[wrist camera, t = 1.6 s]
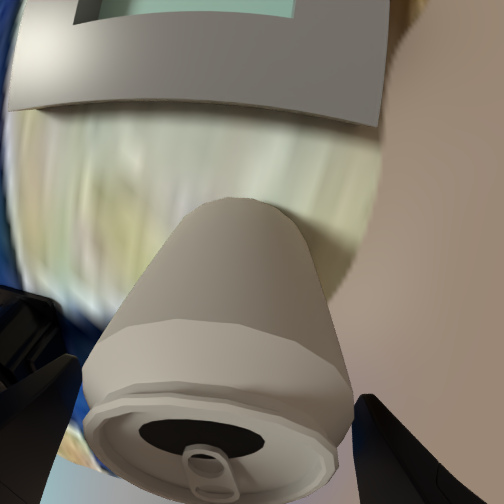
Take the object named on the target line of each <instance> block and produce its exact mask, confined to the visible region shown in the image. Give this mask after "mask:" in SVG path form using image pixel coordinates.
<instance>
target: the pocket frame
mask: <svg viewBox="0 0 504 504" xmlns="http://www.w3.org/2000/svg"><path fill="white" fill-rule="evenodd" d="M389 8H390V0H27V2H26V5H25V9H24V13H23V17H22V21H21V25H20V29H19V34H18V38H17V43H16V49H15V54H14V60H13V67H12V74H11V82H10V92H9V103H8V112H10V111H21V110H33V109H41V108H49V107H57V106H66V105H76V104H88V103H104V102H128V101H171V102H197V103H213V104H226V105H237V106H246V107H255V108H263V109H271V110H278V111H285V112H291V113H298V114H303V115H309V116H315V117H320V118H325V119H330V120H335V121H340V122H344V123H349V124H353V125H358V126H367V127H377V126H378V120H379V113H380V106H381V99H382V91H383V83H384V74H385V64H386V54H387V42H388V28H389Z"/></svg>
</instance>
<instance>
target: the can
mask: <svg viewBox="0 0 504 504" xmlns="http://www.w3.org/2000/svg"><path fill="white" fill-rule="evenodd" d="M82 377H83V393H84V396H85V398H86V401H87V403H88V406H89V408H90V412H89V413H88V414H87V416H86V417H85V418H84V420H83V428H84V436H85V440H86V442H87V443H88V445H89V446H90V448H91V449H92V451H93V452H94V454H95V455H96V456H97V458H98V459H99V460H100V461H101V462H102V463H103V464H104V465H106V466H107V467H108V468H109V469H110V470H111V471H113V472H114V473H115V474H116V475H118V476H119V477H121V478H123V479H124V480H126V481H128V482H130V483H131V484H133V485H135V486H137V487H139V488H141V489H143V490H145V491H148V492H150V493H153V494H155V495H158V496H161V497H163V498H166V499H169V500H173V501H177V502H181V503H185V504H286V503H289V502H292V501H295V500H298V499H301V498H304V497H306V496H308V495H310V494H311V493H313V492H315V491H316V490H318V489H319V488H321V487H323V486H324V485H326V484H327V483H328V482H329V481H330V479H331V478H332V476H333V475H334V473H335V472H336V470H337V469H338V467H339V462H338V454H337V447H338V445H339V444H340V443H341V442H342V440H343V439H344V437H345V435H346V433H347V432H348V430H349V428H350V426H351V424H352V422H353V420H354V400H353V391H352V387H351V384H350V380H349V376H348V373H347V369H346V366H345V363H344V359H343V355H342V352H341V349H340V345H339V342H338V338H337V335H336V332H335V328H334V325H333V322H332V319H331V315H330V312H329V309H328V306H327V303H326V299H325V296H324V293H323V290H322V287H321V284H320V281H319V278H318V275H317V272H316V269H315V266H314V263H313V260H312V257H311V254H310V251H309V248H308V245H307V243H306V241H305V239H304V238H303V236H302V234H301V233H300V231H299V229H298V228H297V226H296V224H295V223H294V222H293V221H292V220H290V219H289V218H288V217H287V216H286V215H284V214H283V213H282V212H281V211H279V210H278V209H277V208H275V207H273V206H270V205H268V204H265V203H263V202H260V201H257V200H255V199H250V198H232V197H227V198H223V199H219V200H215V201H212V202H208V203H204V204H202V205H201V206H199V207H198V208H197V209H195V210H194V211H192V212H191V213H189V214H188V215H186V216H185V217H184V218H183V219H182V221H181V222H180V223H179V225H178V226H177V227H176V229H175V230H174V231H173V233H172V234H171V235H170V237H169V238H168V239H167V241H166V242H165V243H164V245H163V246H162V247H161V249H160V250H159V251H158V253H157V254H156V256H155V257H154V258H153V260H152V261H151V263H150V264H149V265H148V267H147V268H146V270H145V271H144V272H143V274H142V275H141V277H140V278H139V280H138V281H137V282H136V284H135V285H134V287H133V288H132V290H131V291H130V293H129V294H128V296H127V297H126V299H125V300H124V302H123V303H122V304H121V306H120V307H119V309H118V311H117V312H116V314H115V315H114V317H113V318H112V320H111V321H110V323H109V324H108V326H107V327H106V329H105V330H104V332H103V334H102V335H101V337H100V338H99V340H98V342H97V343H96V345H95V346H94V348H93V350H92V352H91V353H90V355H89V357H88V358H87V360H86V362H85V364H84V365H83V367H82Z"/></svg>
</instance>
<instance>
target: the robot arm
mask: <svg viewBox="0 0 504 504" xmlns="http://www.w3.org/2000/svg"><path fill="white" fill-rule="evenodd" d="M82 379H83V377H82V370H81V367H80V364H79V361H78V358H77V357H76V356H73V355H70V354H67V351H66V348H65V345H64V341H63V338H62V335H61V331H60V328H59V324H58V320H57V316H56V313H55V309H54V305H53V303H52V301H51V300H50V299H48V298H44V297H40V296H37V295H33V294H29V293H26V292H22V291H19V290H15V289H12V288H9V287H5V286H2V285H0V504H40V501H41V498H42V495H43V491H44V488H45V485H46V482H47V479H48V477H49V474H50V471H51V468H52V465H53V462H54V460H55V457H56V454H57V452H58V449H59V446H60V444H61V441H62V439H63V436H64V434H65V431H66V429H67V426H68V424H69V421H70V419H71V416H72V413H73V409H74V406H75V402H76V399H77V396H78V392H79V389H80V386H81V383H82ZM352 442H353V457H354V464H355V471H356V477H357V484H358V491H359V497H360V504H487V503H486V502H484V501H483V500H482V499H481V498H479V497H478V496H477V495H475V494H474V493H473V492H471V491H470V490H469V489H468V488H467V487H465V486H464V485H463V484H462V483H461V482H459V481H458V480H457V479H456V478H455V477H454V476H453V475H452V474H450V473H449V471H448V470H447V469H446V468H445V467H444V466H443V465H441V463H439V462H438V461H437V459H436V458H435V457H434V456H433V455H432V454H431V453H430V452H429V451H428V450H427V449H426V448H425V447H424V446H423V445H422V444H421V443H420V442H419V441H418V440H417V439H416V438H415V437H414V436H413V435H412V434H411V432H410V431H409V430H408V429H407V428H406V427H405V426H404V425H403V424H402V423H401V422H400V421H399V420H398V419H397V418H396V417H395V416H394V415H393V414H392V413H391V412H390V411H389V410H388V409H387V408H386V406H385V405H384V404H383V403H382V402H381V401H380V400H379V399H378V398H377V397H376V396H375V395H373V394H362V395H360V396H359V398H358V400H357V402H356V403H355V405H354V420H353V422H352Z"/></svg>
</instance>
